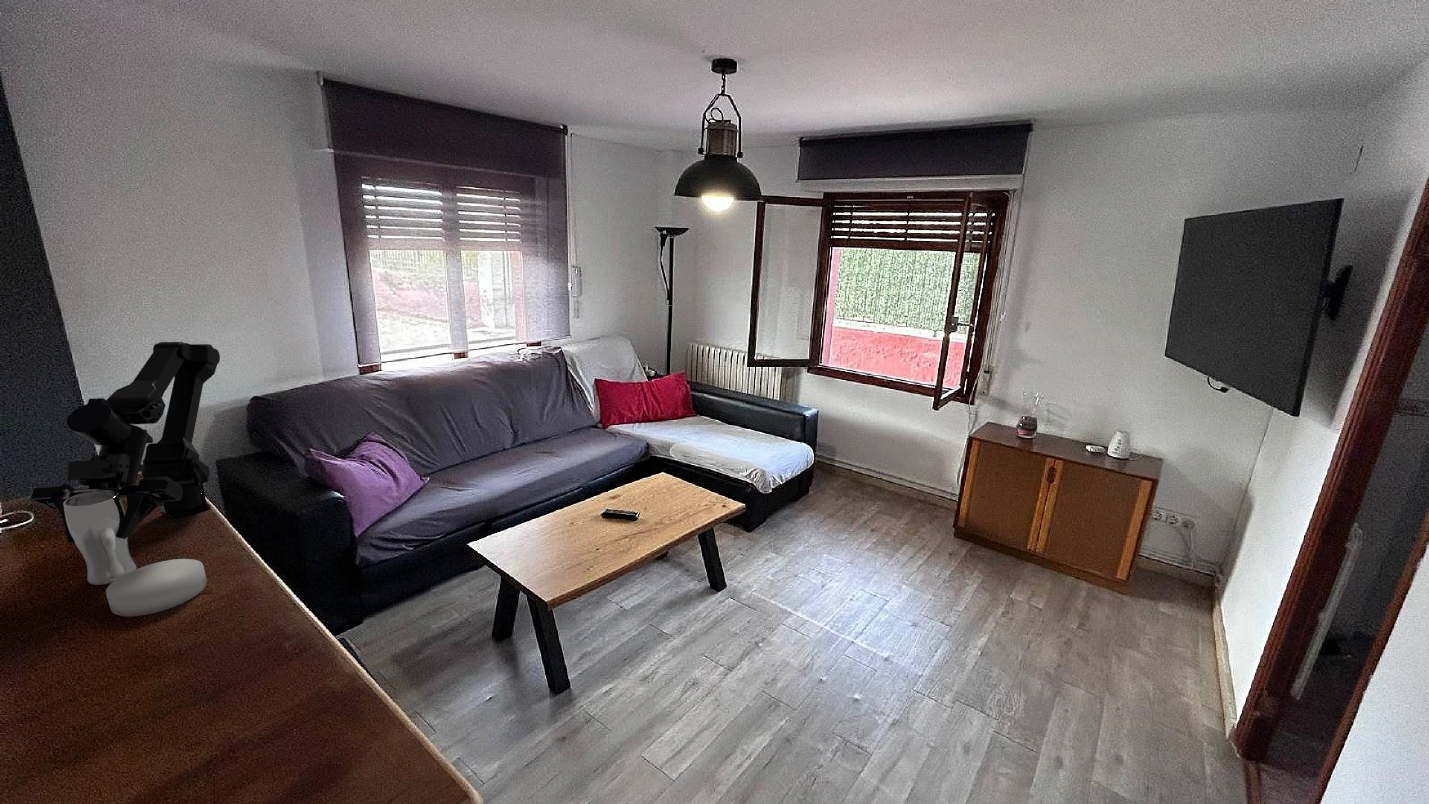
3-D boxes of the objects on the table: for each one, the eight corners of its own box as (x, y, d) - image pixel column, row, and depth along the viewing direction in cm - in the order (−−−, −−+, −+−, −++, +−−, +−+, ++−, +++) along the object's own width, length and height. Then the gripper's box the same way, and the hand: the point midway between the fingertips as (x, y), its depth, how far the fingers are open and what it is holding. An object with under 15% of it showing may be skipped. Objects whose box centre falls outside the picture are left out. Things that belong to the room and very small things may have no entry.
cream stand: (192, 566, 107) (189, 551, 106) (218, 589, 101) (214, 574, 100) (100, 597, 98) (96, 582, 97) (123, 626, 91) (118, 609, 90)
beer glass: (151, 566, 107) (131, 490, 102) (109, 588, 100) (86, 508, 96) (116, 562, 107) (95, 487, 103) (72, 584, 101) (48, 505, 96)
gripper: (20, 441, 97) (-14, 533, 91) (159, 434, 103) (137, 520, 96) (66, 467, 107) (38, 552, 100) (191, 459, 112) (173, 539, 106)
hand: (96, 540), depth 100 cm, fingers closed on beer glass, 6 cm apart
